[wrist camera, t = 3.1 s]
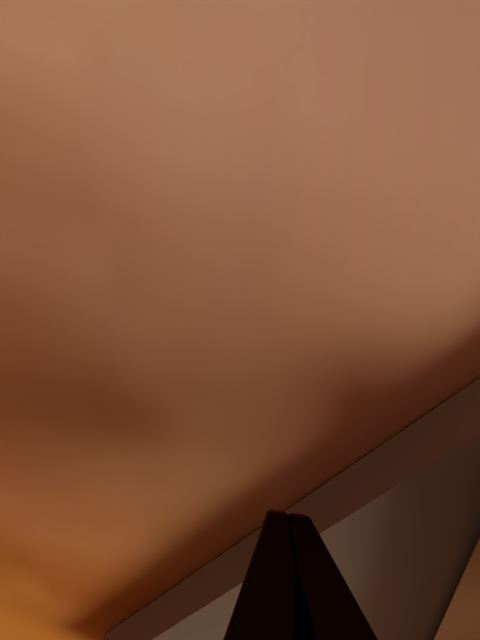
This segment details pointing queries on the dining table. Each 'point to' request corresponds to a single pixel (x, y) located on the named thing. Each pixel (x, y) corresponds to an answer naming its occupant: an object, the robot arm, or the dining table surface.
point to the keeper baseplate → (364, 536)
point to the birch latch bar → (464, 605)
